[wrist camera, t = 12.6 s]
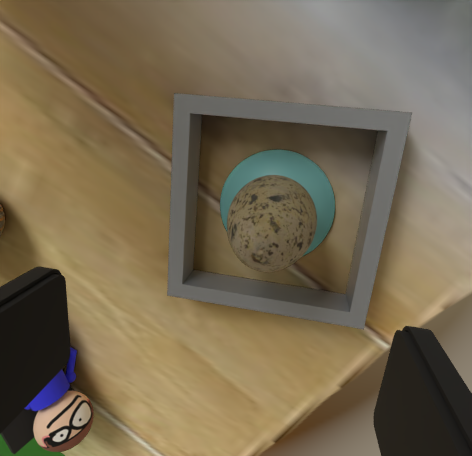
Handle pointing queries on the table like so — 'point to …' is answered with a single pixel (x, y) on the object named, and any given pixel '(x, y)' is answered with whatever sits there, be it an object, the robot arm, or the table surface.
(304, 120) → the walled pen
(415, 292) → the table surface
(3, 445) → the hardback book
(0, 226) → the vase
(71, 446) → the character figurine
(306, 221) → the decorative egg
